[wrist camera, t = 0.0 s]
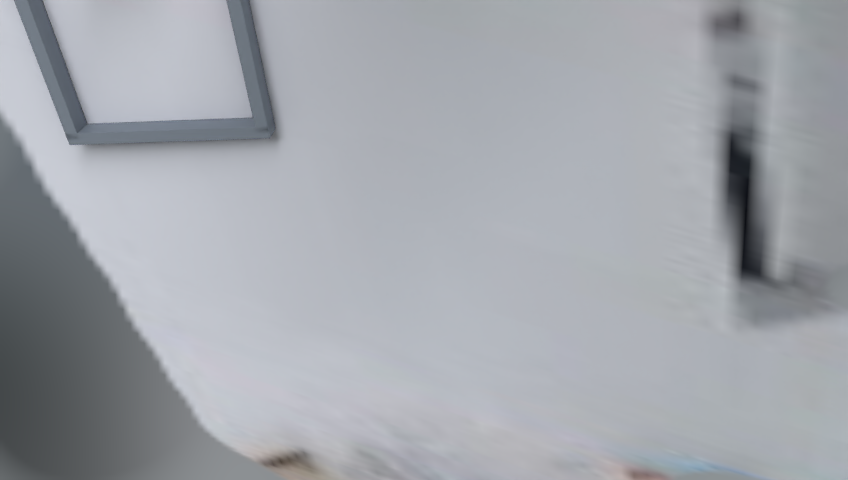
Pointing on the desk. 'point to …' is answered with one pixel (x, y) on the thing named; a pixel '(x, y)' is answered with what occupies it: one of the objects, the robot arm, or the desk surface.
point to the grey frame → (153, 131)
